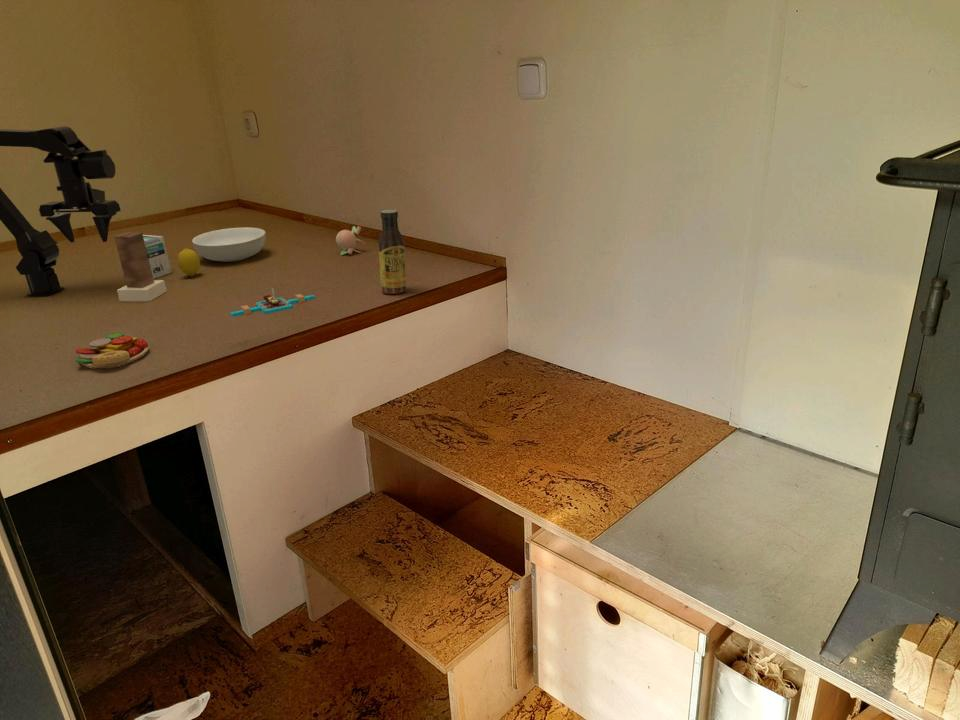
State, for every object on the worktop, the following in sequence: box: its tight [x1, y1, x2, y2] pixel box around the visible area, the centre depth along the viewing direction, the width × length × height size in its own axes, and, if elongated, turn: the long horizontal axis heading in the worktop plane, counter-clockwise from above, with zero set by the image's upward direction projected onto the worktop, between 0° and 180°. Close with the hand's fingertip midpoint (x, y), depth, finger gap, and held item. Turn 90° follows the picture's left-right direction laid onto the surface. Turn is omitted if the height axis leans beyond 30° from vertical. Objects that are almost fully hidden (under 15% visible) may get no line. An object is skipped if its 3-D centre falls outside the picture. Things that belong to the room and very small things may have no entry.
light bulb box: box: [143, 234, 172, 280], centre depth 193 cm, size 11×7×11 cm, turn 65°
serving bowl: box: [191, 227, 267, 263], centre depth 207 cm, size 21×21×7 cm
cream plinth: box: [116, 279, 167, 302], centre depth 176 cm, size 8×8×3 cm
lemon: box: [177, 247, 201, 277], centre depth 190 cm, size 6×6×8 cm
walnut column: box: [113, 231, 155, 288], centre depth 173 cm, size 4×4×13 cm
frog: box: [335, 225, 366, 256], centre depth 206 cm, size 10×8×8 cm
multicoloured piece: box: [230, 287, 316, 317], centre depth 164 cm, size 20×5×9 cm
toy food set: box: [75, 332, 150, 369], centre depth 139 cm, size 13×13×3 cm
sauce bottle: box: [378, 209, 407, 295], centre depth 167 cm, size 6×6×20 cm
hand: (88, 242), depth 178 cm, fingers open, 9 cm apart
